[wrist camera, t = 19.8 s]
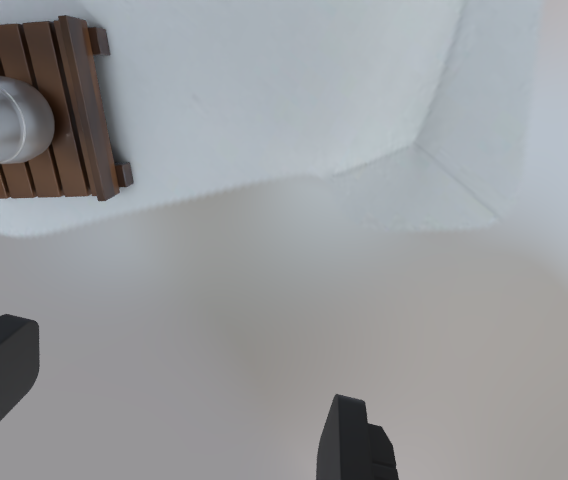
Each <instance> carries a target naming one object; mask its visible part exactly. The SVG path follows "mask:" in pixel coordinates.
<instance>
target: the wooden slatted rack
mask: <svg viewBox="0 0 568 480" xmlns="http://www.w3.org/2000/svg"><path fill="white" fill-rule="evenodd" d="M58 18H59V20H57V21H54V22H49V21H44V22H31V23H23V25H22V24H5V25H0V76H4V77H9V78H13V79H16V80H20V81H23V82H25V83H28V84H30V85H31V86H33V87H34V88H36V89H37V90H38V91H39V92H40V93H41V94H42V95H43V97H44V98H45V99H46V100H47V102H48V104H49V106H50V108H51V110H52V112H53V115H54V121H55V130H54V136H53V139H52V141H51V144H50V145H49V147H48V148H47V149H46V150H45V151H44V152H43V153H42V154H40V155H38V156H36V157H34V158H33V159H31V160H28V161H26V162H22V163H13V164H0V199H3V198H9V197H11V198H34V197H36V196H38V197H61V196H63V195H65V197H77V196H89V195H91V194H92V196H97V198H98V201H106V200H108V199H110V198H112V197H114V196H115V195H117V194H118V193H120V191H119V187H127V186H129V185H131V184H133V178H132V173H131V167H130V163H129V162H124V163H114V160H113V155H112V150H111V145H110V140H109V134H108V129H107V124H106V119H105V114H104V109H103V104H102V99H101V94H100V89H99V83H98V78H97V73H96V68H95V63H94V58H93V56H107V55H110V52H109V46H108V41H107V36H106V30H105V29H102V28H98V27H89V28H88V27H87V22H86V20H82V19H79V18H75V17H71V16H67V15H64V16H58Z"/></svg>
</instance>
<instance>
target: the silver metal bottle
mask: <svg viewBox="0 0 568 480" xmlns="http://www.w3.org/2000/svg"><path fill="white" fill-rule="evenodd" d="M54 130H55V121H54V115H53V112H52V110H51V108H50V106H49V104H48V102H47V100H46V99H45V98H44V97H43V95H42V94H41V93H40V92H39V91H38V90H37V89H36V88H34V87H33V86H31V85H30V84H28V83H25V82H23V81H20V80H16V79H13V78H9V77H4V76H0V164H13V163H22V162H26V161H28V160H31V159H33V158H34V157H36V156H38V155H40V154H42V153H43V152H44V151H45V150H46V149H47V148H48V147H49V145H50V144H51V141H52V139H53V136H54Z"/></svg>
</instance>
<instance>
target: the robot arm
mask: <svg viewBox="0 0 568 480" xmlns="http://www.w3.org/2000/svg"><path fill="white" fill-rule="evenodd" d="M38 372H39V326H38V323H37V322H36V321H34V320H30V319H26V318H22V317H17V316H13V315H9V314H5V315H2V316H0V421H1V420H2V419H3V418H4V417H5V416H6V414H7V413H8V412H9V411H10V410H11V409H12V408H13V407H14V406H15V405H16V404H17V403H18V402H19V401H20V400H21V399H22V398H23V397H24V396H25V395H26V394H27V393H28V392H29V390H30V389H31V388H32V386H33V385H34V383H35V381H36V378H37V376H38ZM316 480H399V478H398V472H397V469H396V461H395V456H394V450H393V445H392V443H391V442H390V440H389V439H388V437H387V435H386V433H385V432H384V430H383V428H382V427H381V426H377V425H373V424H369V423H368V422H367V413H366V406H365V402H364V401H363V400H359V399H355V398H351V397H347V396H343V395H338V394H336V395H335V397H334V399H333V402H332V405H331V408H330V411H329V414H328V417H327V420H326V423H325V426H324V429H323V432H322V435H321V438H320V443H319V448H318V454H317V471H316Z"/></svg>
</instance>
